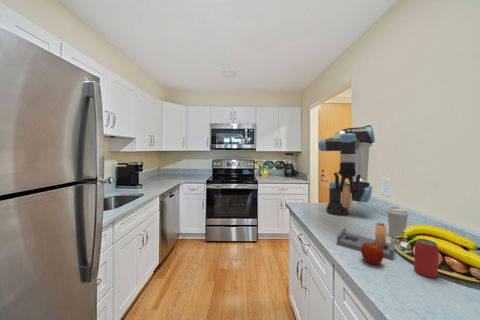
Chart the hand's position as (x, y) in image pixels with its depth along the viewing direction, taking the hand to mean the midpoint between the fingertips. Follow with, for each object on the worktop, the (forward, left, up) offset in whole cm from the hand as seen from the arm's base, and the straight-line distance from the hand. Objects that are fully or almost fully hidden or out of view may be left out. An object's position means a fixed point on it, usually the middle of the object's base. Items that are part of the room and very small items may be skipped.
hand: (346, 203), depth 112 cm
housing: (+11, +11, -17) cm, 23 cm away
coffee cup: (-14, +22, -17) cm, 31 cm away
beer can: (+21, +32, -17) cm, 42 cm away
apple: (+25, +15, -17) cm, 34 cm away
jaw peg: (0, 0, -2) cm, 2 cm away
